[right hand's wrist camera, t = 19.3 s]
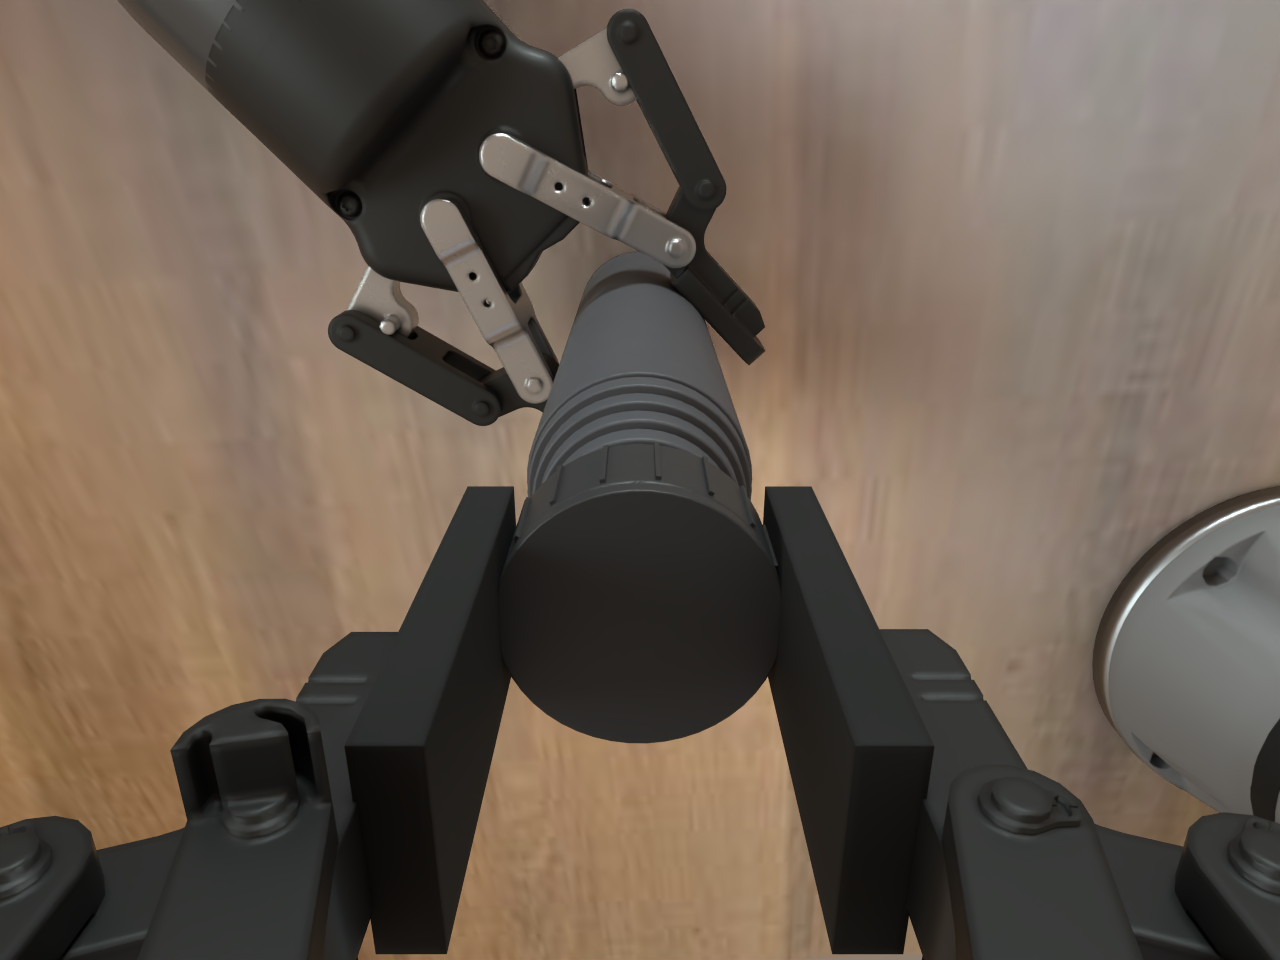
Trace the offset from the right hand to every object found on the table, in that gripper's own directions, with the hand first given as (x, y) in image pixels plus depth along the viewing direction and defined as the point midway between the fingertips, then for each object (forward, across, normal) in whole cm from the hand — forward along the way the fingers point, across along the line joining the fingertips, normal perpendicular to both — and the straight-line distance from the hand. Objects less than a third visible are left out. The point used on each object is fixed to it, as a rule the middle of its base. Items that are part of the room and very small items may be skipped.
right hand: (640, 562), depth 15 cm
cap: (-2, 0, 0) cm, 2 cm away
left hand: (+15, -2, +2) cm, 16 cm away
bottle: (+22, 0, 0) cm, 22 cm away
